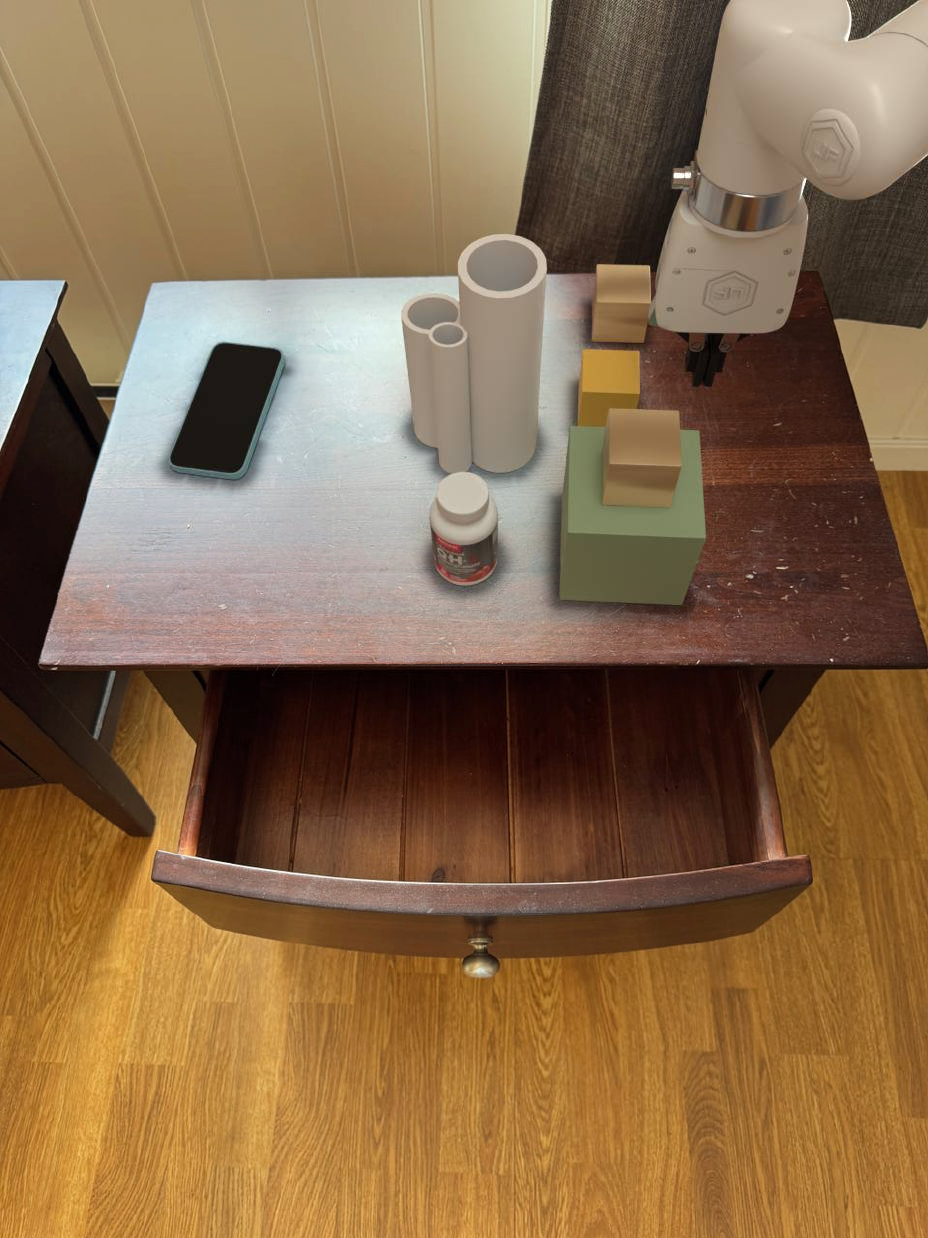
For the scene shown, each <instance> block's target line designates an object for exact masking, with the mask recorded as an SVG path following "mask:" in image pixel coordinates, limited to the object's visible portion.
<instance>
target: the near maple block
mask: <svg viewBox="0 0 928 1238" xmlns="http://www.w3.org/2000/svg"><path fill="white" fill-rule="evenodd" d="M680 419H681V418H680V411H679V410H674V409H673V410H672V409H642V408H641V409H640V408H637V409H616V408H609V411H608V417H607V424H606V430H605V437H604V443H603V449H602V505H610V506H635V507H661V508H670V506H671V503H672V499H673V496H674V492H675V489H676V485H677V482H678V478H679V475H680V471H681V467H682V458H681V438H680V430H681V421H680Z"/></svg>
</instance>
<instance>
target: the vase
mask: <svg viewBox="0 0 928 1238" xmlns="http://www.w3.org/2000/svg"><path fill="white" fill-rule="evenodd" d="M547 272H548V266H547V258H546V256H545V253H544V252H543V250H542V249H541V247H539V246H538V245H537V244H536V243H535V242H533V241H531V240H530V239H527V238H526V237H523V236H520V235H516V234H509V233H499V234H497V233H496V234H490V235H487V236H484V237H480V238H478V239H477V240H474V241H473V242H471V243H469V244H468V245H467V246H466V247H465V249H464V250H463V251H462V252H461V254H460V256H459V259H458V261H457V279H458V280H457V281H458V299H459V300H458V299H456V298H455V297H452V296H450V295H449V294H443V293H438V292H436V293H424V294H420V295H417V296H415V297H412V298H411V299H409V300H407V302H406V303H404V305H402V306H403V307H402V308H401V310H400V318H401V325H402V326H401V327H402V334H403V344H404V352H405V361H406V370H407V378H408V388H409V396H410V405H411V413H412V421H413V430H414V434H415V436H416V438H417V440H419V441H420V442H421V443H423V445H426V446H427V447H430V448H437V450H438V463H439V466H440V468H441V469H442V470H443V471H444V472H446V473H448V474H453V473H457V472H468V471H469V469H471V467H472V465H473V464H474V465H475V466H476V467H479V468H480V469H482V470H484V471H486V472H490V473H494V474H503V473H505V474H506V473H511V472H514V471H517V470H519V469H521V468H523V467H524V466H525V465H527V464H528V463H529V462H530V460H531V459H532V458H533V456H534V455H535V451H536V448H537V437H538V421H539V420H538V419H539V405H540V390H541V389H540V387H541V371H542V355H543V340H544V325H545V323H544V322H545V321H544V320H545V308H546V307H545V305H546V288H547V274H548V273H547Z"/></svg>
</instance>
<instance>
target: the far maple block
mask: <svg viewBox="0 0 928 1238" xmlns="http://www.w3.org/2000/svg"><path fill="white" fill-rule="evenodd" d="M651 289H652V287H651V265H647V264H645V265H644V264H643V265H641V264H603V263H602V264H601V263H597V264H596V267H595V276H594V284H593V293H592V300H591V342H594V343H595V342H597V343H633V344H634V343H635V344H644V342H645V338H646V334H647V333H646V332H647V328H648V324H649V323H648V309H649V307H650V304H651V302H652V290H651Z"/></svg>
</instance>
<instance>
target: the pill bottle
mask: <svg viewBox="0 0 928 1238" xmlns="http://www.w3.org/2000/svg"><path fill="white" fill-rule="evenodd" d="M429 525H430V526H429V527H430V533H431V534H430V535H431V536H430V537H431V545H432V553H433V554H432V555H433V561H434V565H435V569H436V570H437V572H438V573H439V575H440V576H441V577H442V578H443V579H444V580H446V581H447V582H449V583H451V584H453V585H458V586H473V585H477V584H479V583H482V582H483V581H485V580H487V579H488V578H490V576H491V575H492V574H493V573H494V571H495V569H496V566H497V564H498V555H499V553H498V552H499V551H498V547H499V541H498V540H499V509H498V506H497V503H496V501H495V499H494V498H493V496H492V495H491V494H490V491H489V486H488V484H487V483H486V481H485V480H484V479H483V478H482V477H481V476H479V475H478V474H475V473H473V472H469V471H465V472H457V473H453V474H452V473H449V474H448V475H447V476H445V477H444V478H443V479H442V480H441V481H440V482H439V484H438V486H437V489H436V497H435V498H434V500H433V501H432V504H431V506H430V509H429Z"/></svg>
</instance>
